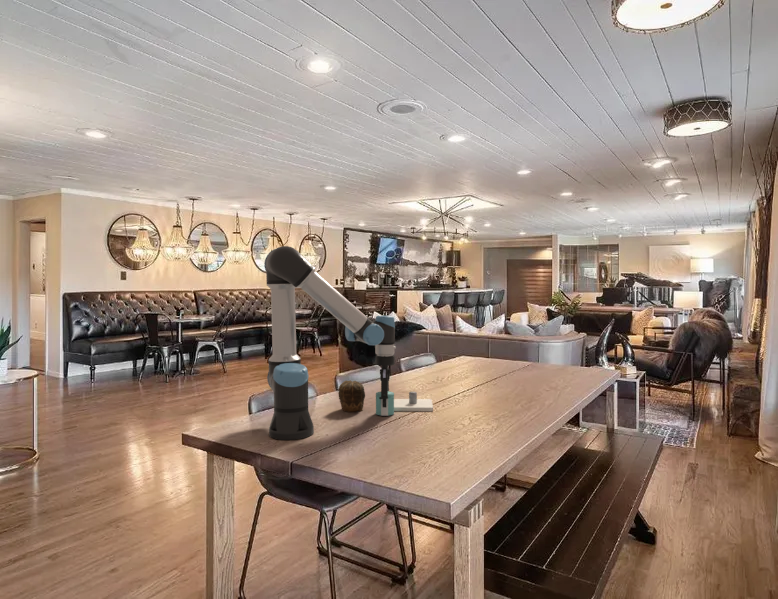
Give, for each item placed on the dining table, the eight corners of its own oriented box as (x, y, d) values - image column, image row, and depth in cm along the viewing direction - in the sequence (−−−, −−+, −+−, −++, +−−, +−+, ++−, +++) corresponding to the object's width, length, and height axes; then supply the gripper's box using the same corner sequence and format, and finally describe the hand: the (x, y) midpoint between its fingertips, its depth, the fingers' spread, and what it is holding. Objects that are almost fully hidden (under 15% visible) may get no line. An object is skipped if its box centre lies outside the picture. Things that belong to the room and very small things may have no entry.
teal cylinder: (393, 415, 196) (393, 395, 195) (375, 415, 196) (375, 395, 196) (394, 411, 203) (394, 391, 202) (376, 410, 203) (376, 391, 203)
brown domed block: (333, 411, 204) (332, 382, 203) (347, 405, 213) (347, 377, 213) (356, 414, 198) (355, 384, 198) (370, 408, 208) (369, 379, 208)
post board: (433, 411, 203) (432, 396, 203) (393, 411, 204) (393, 396, 203) (431, 402, 218) (431, 388, 218) (394, 402, 219) (394, 388, 218)
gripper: (393, 358, 189) (393, 419, 189) (395, 351, 208) (395, 406, 209) (373, 358, 189) (373, 419, 189) (377, 351, 209) (377, 406, 209)
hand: (385, 412), depth 199 cm, fingers closed on teal cylinder, 7 cm apart
